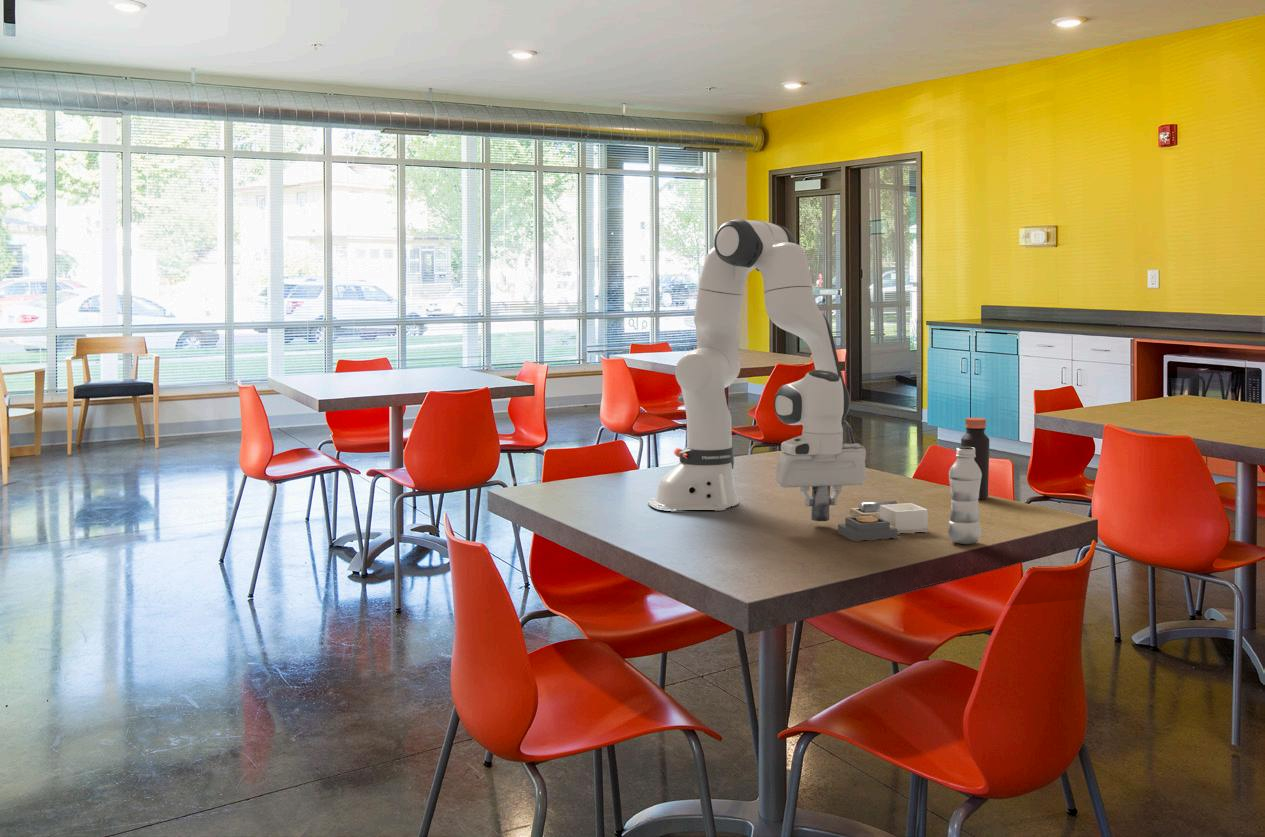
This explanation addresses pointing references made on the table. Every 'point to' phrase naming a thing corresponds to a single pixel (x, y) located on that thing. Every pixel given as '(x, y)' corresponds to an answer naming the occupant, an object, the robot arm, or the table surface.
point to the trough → (856, 513)
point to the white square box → (905, 517)
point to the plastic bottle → (964, 498)
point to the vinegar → (978, 449)
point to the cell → (820, 503)
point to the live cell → (873, 506)
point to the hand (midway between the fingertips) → (820, 505)
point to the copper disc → (867, 519)
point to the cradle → (866, 530)
